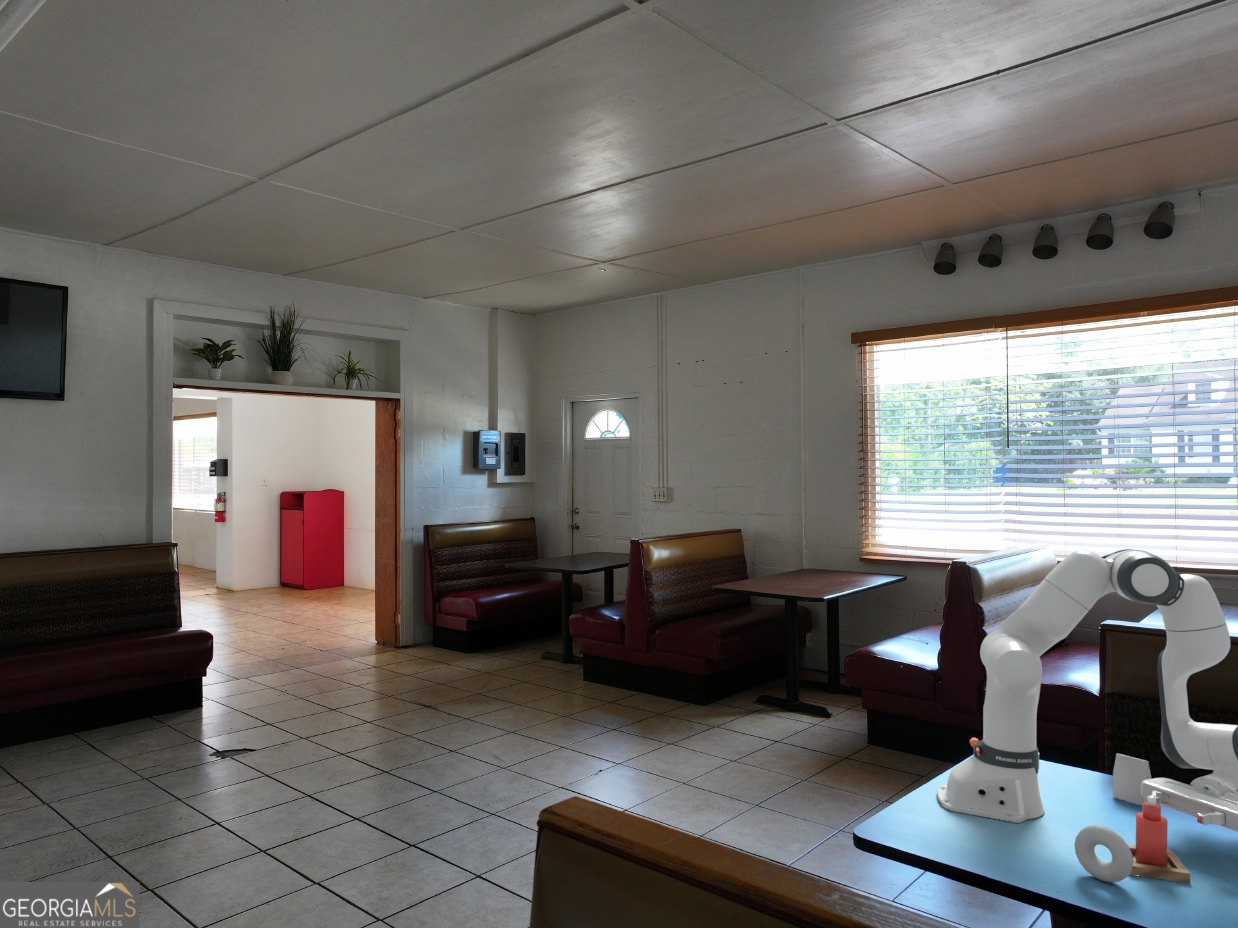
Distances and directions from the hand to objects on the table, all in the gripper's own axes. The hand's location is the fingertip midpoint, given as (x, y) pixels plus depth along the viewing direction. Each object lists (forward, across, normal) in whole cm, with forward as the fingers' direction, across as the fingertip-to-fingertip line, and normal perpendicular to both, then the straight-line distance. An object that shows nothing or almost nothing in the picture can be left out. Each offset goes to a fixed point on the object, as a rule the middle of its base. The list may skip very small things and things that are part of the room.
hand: (1175, 810), depth 165 cm
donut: (+21, -1, +10) cm, 23 cm away
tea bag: (-22, -22, +10) cm, 33 cm away
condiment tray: (+8, 0, +10) cm, 12 cm away
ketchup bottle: (+8, 0, +9) cm, 12 cm away
